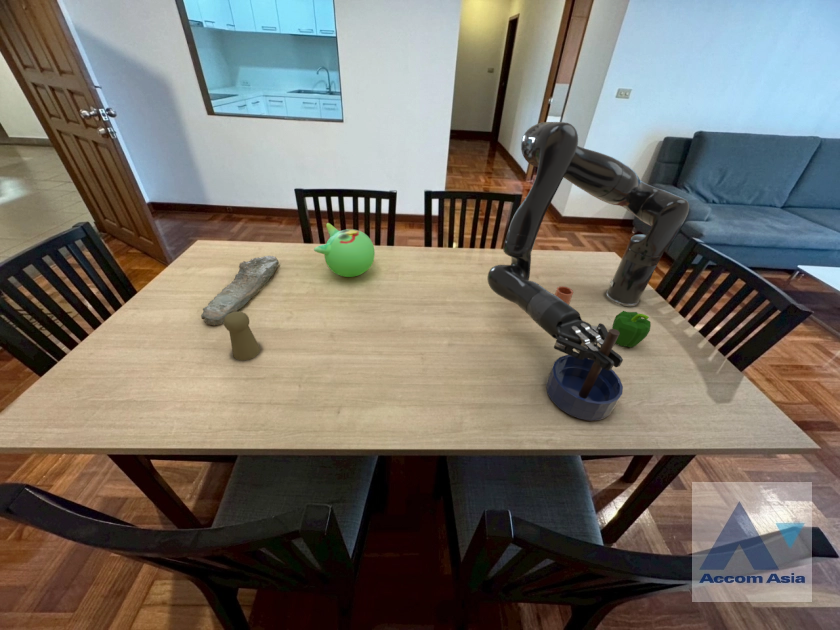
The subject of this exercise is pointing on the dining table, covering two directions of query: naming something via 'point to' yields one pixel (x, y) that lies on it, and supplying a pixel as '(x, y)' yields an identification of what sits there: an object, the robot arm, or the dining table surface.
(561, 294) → the utensil cup
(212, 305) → the long grey stone
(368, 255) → the toy bird
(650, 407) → the dining table surface
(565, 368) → the blue bowl
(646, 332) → the bell pepper
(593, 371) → the stirring stick
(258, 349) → the olive brown pawn
